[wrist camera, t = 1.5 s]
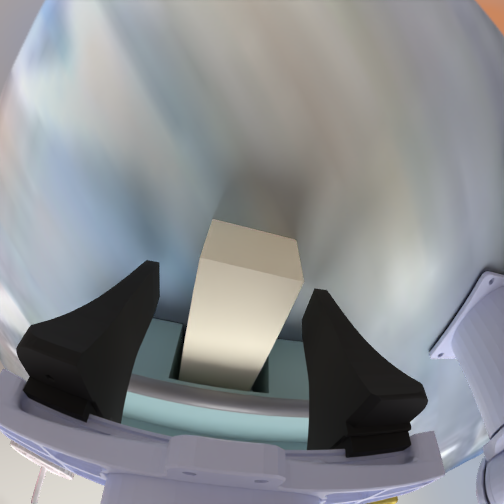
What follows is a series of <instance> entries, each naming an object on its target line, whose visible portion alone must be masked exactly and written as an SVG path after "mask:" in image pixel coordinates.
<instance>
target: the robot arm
mask: <svg viewBox="0 0 504 504" xmlns="http://www.w3.org/2000/svg"><path fill="white" fill-rule="evenodd" d="M159 297H160V291H159V262H154V261H148V260H147V261H145V262H144V263H143V264H141V265H140V266H139V267H138V268H137V269H135V270H134V271H133V272H132V273H131V274H129V275H128V276H127V277H126V278H124V279H123V280H122V281H121V282H119V283H118V284H117V285H115V286H114V287H113V288H111V289H110V290H109V291H107V292H106V293H104V294H103V295H101V296H100V297H98V298H97V299H95V300H93V301H91V302H90V303H88V304H86V305H84V306H82V307H80V308H78V309H76V310H74V311H72V312H70V313H67V314H65V315H62V316H60V317H57V318H54V319H51V320H48V321H44V322H41V323H37V324H34V325H31V326H30V327H29V329H28V330H27V332H26V333H25V335H24V336H23V338H22V340H21V341H20V343H19V344H18V346H17V348H16V350H17V355H18V357H19V360H20V361H21V363H22V365H23V366H24V368H25V370H26V371H27V373H28V375H29V376H30V377H29V379H28V381H27V382H26V381H25V380H24V379H23V378H21V377H19V376H17V375H16V374H14V373H12V372H10V371H8V370H6V369H3V370H2V371H1V373H0V431H1V432H2V433H3V434H4V435H5V436H6V437H8V438H9V439H11V440H13V441H14V442H16V443H18V444H19V445H21V446H23V447H25V448H26V449H28V450H30V451H32V452H33V453H35V454H37V455H39V456H41V457H43V458H45V459H46V460H48V461H50V462H52V463H54V464H56V465H58V466H60V467H62V468H64V469H66V470H68V471H71V472H73V473H75V474H77V475H79V476H82V477H84V478H86V479H89V480H91V481H94V482H96V483H99V484H101V485H104V486H105V487H104V491H103V495H102V500H101V504H366V503H371V502H375V501H380V500H384V499H388V498H392V497H396V496H400V495H404V494H407V493H411V492H414V491H416V490H418V489H420V488H422V487H424V486H426V485H428V484H430V483H432V482H434V481H436V480H437V479H439V478H441V477H443V476H444V475H445V470H444V466H443V462H442V458H441V455H440V451H439V447H438V444H437V440H436V437H435V433H434V431H429V432H423V433H418V434H414V435H412V436H410V437H409V433H408V431H409V430H411V424H410V421H412V420H413V419H414V418H415V417H416V416H417V415H418V414H420V413H421V412H422V411H423V409H424V408H425V407H426V405H427V403H428V399H427V396H426V393H425V390H424V388H423V385H422V384H421V383H420V382H418V381H416V380H415V379H413V378H411V377H409V376H408V375H406V374H405V373H403V372H402V371H400V370H399V369H398V368H396V367H395V366H393V365H392V364H391V363H390V362H388V361H387V360H386V359H385V358H384V357H382V356H381V355H380V354H379V353H378V352H377V351H376V350H375V349H374V348H373V347H372V346H371V345H370V344H369V343H368V342H367V341H366V340H365V339H364V338H363V337H362V336H361V335H360V334H359V332H358V331H357V330H356V329H355V328H354V326H353V325H352V324H351V323H350V321H349V320H348V319H347V317H346V316H345V315H344V313H343V312H342V311H341V309H340V308H339V306H338V305H337V304H336V302H335V301H334V299H333V298H332V297H331V295H330V294H329V293H328V291H327V290H321V289H314V291H313V294H312V296H311V299H310V301H309V304H308V306H307V309H306V311H305V314H304V316H303V319H302V339H303V346H304V353H305V359H306V366H307V373H308V381H309V426H308V441H307V450H284V449H282V448H280V447H278V446H276V445H271V444H265V443H253V442H242V441H232V440H224V439H217V438H209V437H203V436H196V435H178V436H174V437H172V436H167V435H162V434H158V433H154V432H150V431H145V430H142V429H138V428H134V427H130V426H127V425H123V424H121V421H122V415H123V409H124V404H125V399H126V394H127V390H128V386H129V382H130V378H131V374H132V370H133V366H134V363H135V359H136V356H137V354H138V351H139V349H140V346H141V344H142V342H143V339H144V337H145V335H146V332H147V330H148V328H149V325H150V323H151V321H152V319H153V316H154V314H155V310H156V307H157V304H158V300H159ZM429 356H430V358H431V359H451V358H457V361H458V363H459V365H460V367H461V369H462V371H463V373H464V376H465V378H466V380H467V382H468V385H469V387H470V389H471V392H472V394H473V396H474V399H475V401H476V404H477V406H478V409H479V411H480V414H481V416H482V419H483V422H484V424H485V427H486V430H487V433H488V436H489V439H490V441H489V442H488V443H487V444H485V445H484V446H483V447H482V448H483V451H484V454H485V456H484V458H483V459H482V461H481V463H480V466H479V469H478V473H477V481H476V495H477V500H478V503H479V504H504V275H502V274H498V273H494V272H490V271H486V272H484V273H483V274H482V275H481V277H480V278H479V280H478V282H477V284H476V285H475V287H474V289H473V290H472V292H471V294H470V295H469V297H468V298H467V300H466V302H465V303H464V305H463V306H462V308H461V309H460V311H459V312H458V314H457V315H456V317H455V318H454V320H453V321H452V323H451V324H450V325H449V327H448V328H447V330H446V331H445V332H444V334H443V335H442V337H441V338H440V339H439V341H438V342H437V343H436V345H435V346H434V347H433V348H432V350H431V351H430V353H429Z"/></svg>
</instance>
